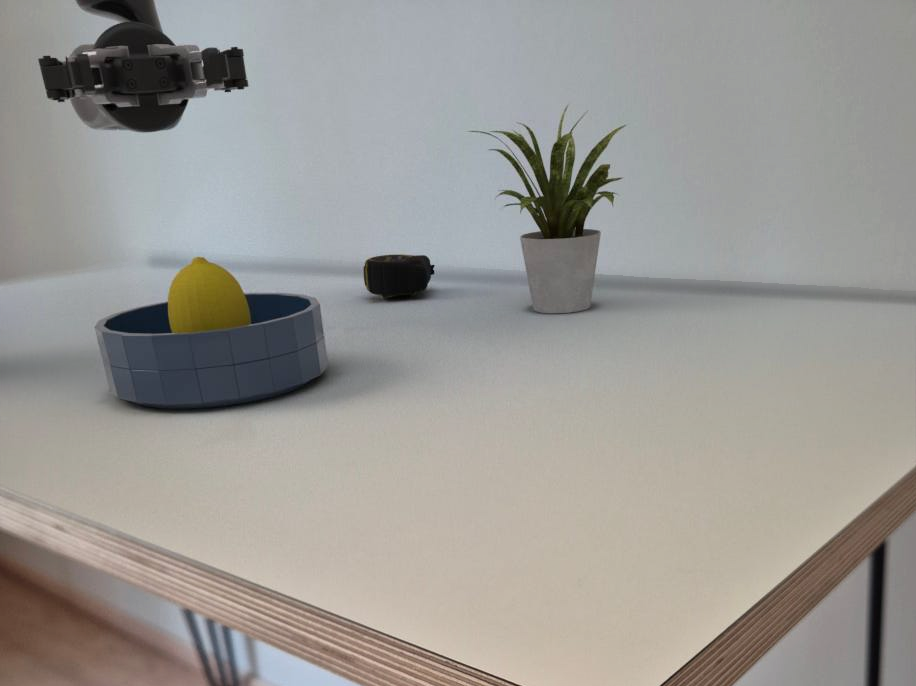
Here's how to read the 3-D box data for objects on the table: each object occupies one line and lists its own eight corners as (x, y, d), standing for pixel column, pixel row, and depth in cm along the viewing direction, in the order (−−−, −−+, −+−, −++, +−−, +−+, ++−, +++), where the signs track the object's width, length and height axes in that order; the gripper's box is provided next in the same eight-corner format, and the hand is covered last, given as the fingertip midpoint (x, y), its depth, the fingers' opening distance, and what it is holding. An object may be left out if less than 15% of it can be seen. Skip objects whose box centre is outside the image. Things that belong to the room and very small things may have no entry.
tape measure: (429, 300, 95) (425, 260, 94) (360, 303, 96) (356, 264, 94) (436, 288, 101) (433, 250, 99) (372, 292, 102) (367, 254, 100)
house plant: (451, 326, 83) (435, 110, 75) (488, 297, 95) (477, 107, 87) (617, 323, 80) (619, 97, 72) (634, 293, 91) (637, 96, 83)
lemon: (202, 366, 72) (180, 252, 68) (271, 365, 71) (252, 249, 67) (167, 385, 68) (141, 264, 64) (240, 384, 66) (218, 261, 63)
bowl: (144, 427, 61) (125, 346, 58) (92, 383, 72) (75, 314, 70) (362, 383, 67) (353, 308, 65) (283, 349, 79) (273, 285, 76)
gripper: (31, 30, 75) (24, 7, 62) (216, 23, 79) (247, -1, 66) (57, 138, 79) (56, 138, 65) (233, 126, 83) (266, 124, 69)
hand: (152, 69), depth 66 cm, fingers open, 8 cm apart
